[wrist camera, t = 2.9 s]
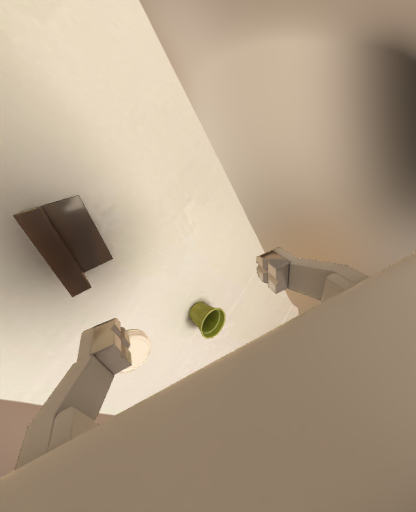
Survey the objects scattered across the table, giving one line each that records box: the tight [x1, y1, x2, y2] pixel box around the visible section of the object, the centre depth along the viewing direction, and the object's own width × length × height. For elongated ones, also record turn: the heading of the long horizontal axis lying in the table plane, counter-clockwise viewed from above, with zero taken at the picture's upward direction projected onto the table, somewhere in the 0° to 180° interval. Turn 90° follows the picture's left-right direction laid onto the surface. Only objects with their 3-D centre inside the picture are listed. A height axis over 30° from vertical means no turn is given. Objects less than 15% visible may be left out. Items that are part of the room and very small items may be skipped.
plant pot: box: [189, 302, 225, 339], centre depth 60 cm, size 9×9×9 cm
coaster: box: [119, 330, 151, 373], centre depth 49 cm, size 10×10×4 cm
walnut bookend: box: [13, 195, 113, 297], centre depth 34 cm, size 9×14×10 cm, turn 19°
